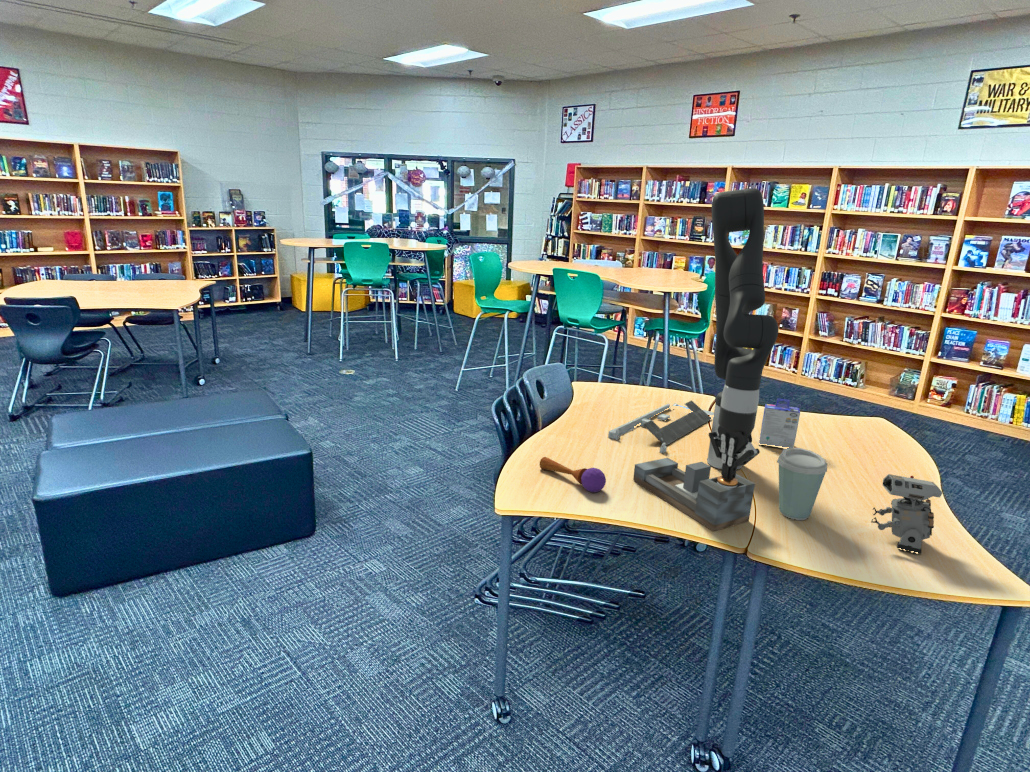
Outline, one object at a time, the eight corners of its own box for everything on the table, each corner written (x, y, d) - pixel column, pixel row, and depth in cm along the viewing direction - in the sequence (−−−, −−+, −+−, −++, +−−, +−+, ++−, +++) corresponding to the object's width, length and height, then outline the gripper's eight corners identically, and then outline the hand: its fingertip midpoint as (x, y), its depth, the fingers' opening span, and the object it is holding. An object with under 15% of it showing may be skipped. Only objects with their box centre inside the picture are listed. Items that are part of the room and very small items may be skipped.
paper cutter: (608, 438, 188) (609, 421, 186) (674, 406, 221) (676, 391, 219) (661, 455, 177) (663, 437, 175) (723, 418, 210) (725, 403, 208)
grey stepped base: (665, 473, 164) (669, 440, 161) (748, 521, 140) (755, 483, 138) (633, 480, 159) (636, 446, 156) (713, 531, 135) (719, 492, 133)
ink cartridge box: (792, 445, 188) (801, 400, 183) (794, 451, 183) (802, 405, 178) (758, 439, 191) (766, 395, 187) (758, 446, 186) (766, 400, 182)
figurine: (866, 525, 141) (880, 465, 137) (925, 539, 136) (941, 477, 132) (866, 542, 133) (880, 479, 129) (928, 558, 128) (946, 493, 124)
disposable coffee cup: (828, 522, 141) (840, 462, 137) (789, 528, 138) (801, 466, 134) (795, 501, 151) (806, 445, 147) (758, 506, 148) (768, 448, 144)
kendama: (552, 451, 166) (612, 470, 151) (549, 472, 166) (608, 493, 152) (537, 452, 161) (597, 472, 147) (534, 474, 162) (593, 496, 148)
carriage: (693, 487, 152) (697, 458, 150) (714, 500, 146) (719, 469, 144) (674, 492, 149) (677, 462, 147) (694, 505, 143) (699, 473, 141)
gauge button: (725, 488, 141) (727, 474, 140) (740, 496, 138) (742, 481, 137) (711, 491, 139) (713, 477, 138) (725, 499, 136) (728, 485, 135)
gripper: (776, 413, 129) (763, 488, 134) (728, 395, 140) (717, 465, 145) (751, 418, 125) (738, 494, 130) (703, 399, 136) (693, 470, 141)
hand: (727, 479), depth 137 cm, fingers closed
